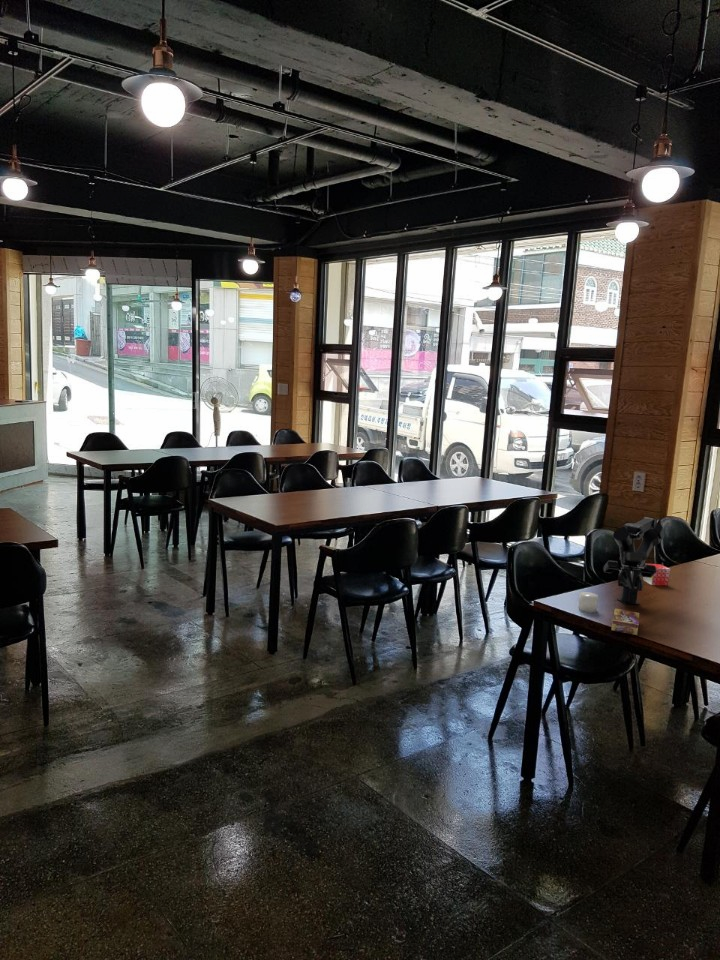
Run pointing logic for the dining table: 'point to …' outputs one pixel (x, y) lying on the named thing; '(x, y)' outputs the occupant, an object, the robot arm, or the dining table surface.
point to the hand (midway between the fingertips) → (632, 588)
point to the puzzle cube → (659, 575)
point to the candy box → (625, 621)
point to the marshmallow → (588, 602)
